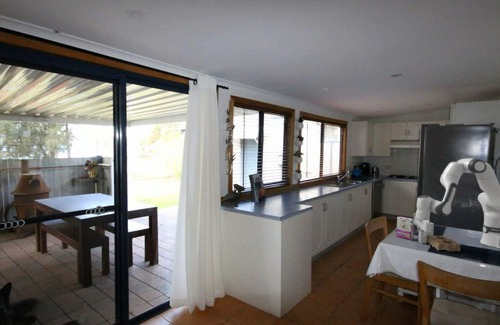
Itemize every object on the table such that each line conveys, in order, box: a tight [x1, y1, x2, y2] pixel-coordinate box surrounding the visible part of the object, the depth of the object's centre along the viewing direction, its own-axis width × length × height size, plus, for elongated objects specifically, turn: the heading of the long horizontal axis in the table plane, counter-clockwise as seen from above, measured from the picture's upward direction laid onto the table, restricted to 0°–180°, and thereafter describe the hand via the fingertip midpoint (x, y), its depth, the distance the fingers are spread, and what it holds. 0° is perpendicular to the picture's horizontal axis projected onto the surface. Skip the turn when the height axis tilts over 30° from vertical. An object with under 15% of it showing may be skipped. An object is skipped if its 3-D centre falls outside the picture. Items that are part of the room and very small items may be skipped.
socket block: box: [426, 235, 461, 253], centre depth 195 cm, size 14×18×5 cm
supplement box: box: [420, 222, 435, 236], centre depth 213 cm, size 7×7×13 cm
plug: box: [417, 230, 427, 245], centre depth 203 cm, size 4×4×10 cm
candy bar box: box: [396, 216, 415, 241], centre depth 213 cm, size 11×5×16 cm, turn 37°
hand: (421, 234), depth 203 cm, fingers open, 8 cm apart
